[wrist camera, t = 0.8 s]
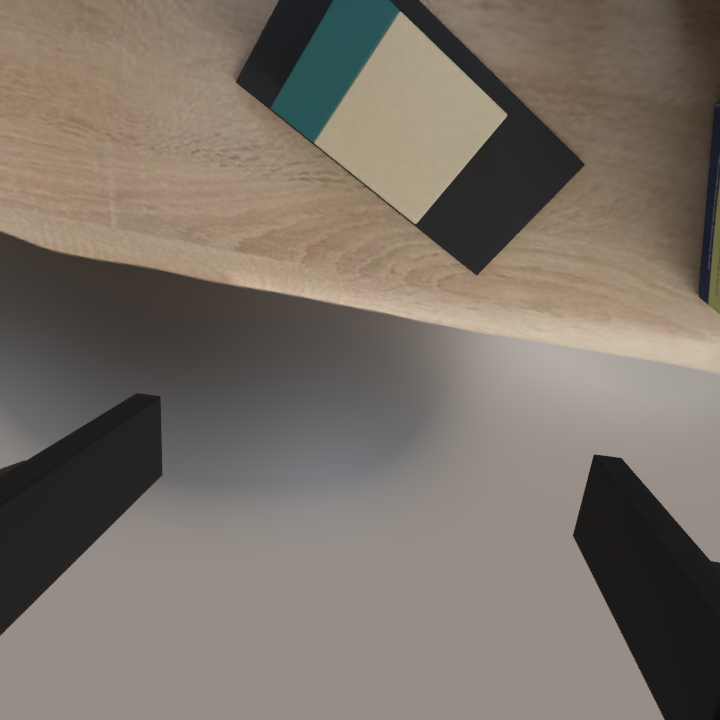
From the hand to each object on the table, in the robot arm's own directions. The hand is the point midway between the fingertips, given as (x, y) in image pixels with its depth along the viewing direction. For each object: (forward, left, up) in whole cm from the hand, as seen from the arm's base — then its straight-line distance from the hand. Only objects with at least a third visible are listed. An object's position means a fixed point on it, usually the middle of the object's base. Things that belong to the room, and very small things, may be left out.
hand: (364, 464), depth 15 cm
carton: (-4, +6, -27) cm, 28 cm away
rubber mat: (-2, +6, -28) cm, 29 cm away
